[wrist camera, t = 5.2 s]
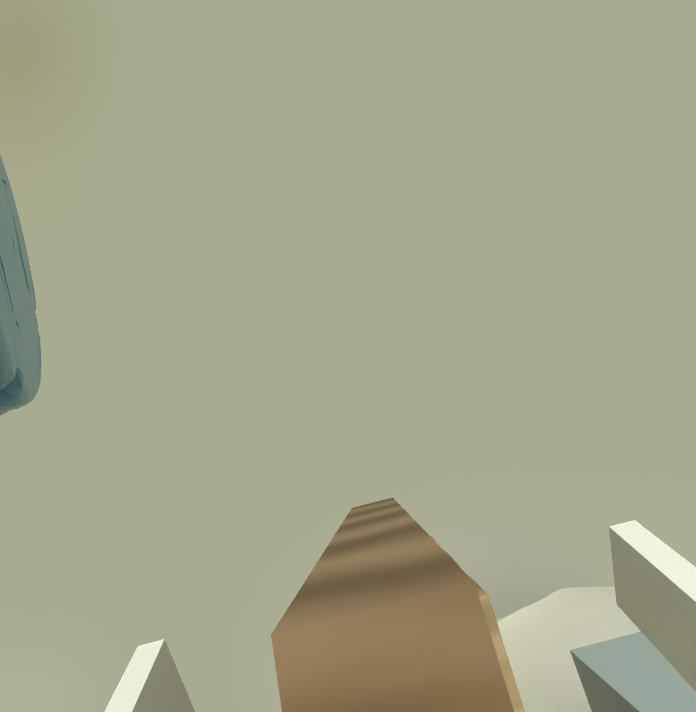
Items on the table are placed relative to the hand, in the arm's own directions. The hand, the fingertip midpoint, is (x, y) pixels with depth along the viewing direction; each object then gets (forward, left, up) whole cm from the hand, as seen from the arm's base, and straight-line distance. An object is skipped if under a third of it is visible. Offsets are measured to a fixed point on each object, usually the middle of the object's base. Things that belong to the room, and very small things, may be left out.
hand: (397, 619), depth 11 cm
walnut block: (-9, +5, -2) cm, 11 cm away
